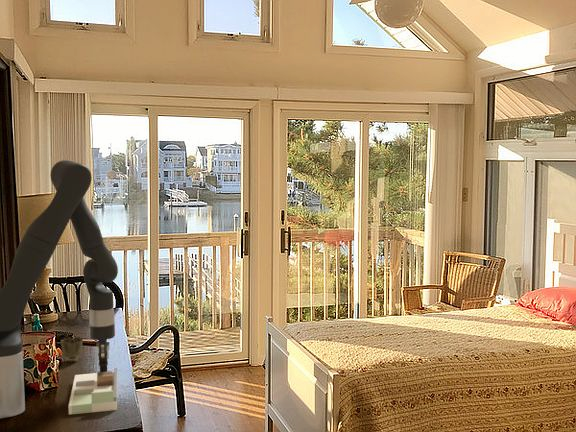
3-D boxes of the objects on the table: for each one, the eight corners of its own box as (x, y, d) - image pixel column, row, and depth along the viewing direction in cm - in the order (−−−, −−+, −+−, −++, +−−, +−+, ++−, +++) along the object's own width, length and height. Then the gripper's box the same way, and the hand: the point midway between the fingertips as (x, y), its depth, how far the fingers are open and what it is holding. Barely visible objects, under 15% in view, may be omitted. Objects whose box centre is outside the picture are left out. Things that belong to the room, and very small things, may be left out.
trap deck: (116, 409, 183) (116, 390, 183) (68, 414, 180) (68, 395, 180) (117, 378, 210) (116, 362, 210) (75, 382, 207) (74, 365, 207)
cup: (60, 364, 226) (59, 342, 225) (62, 359, 233) (61, 337, 232) (82, 363, 228) (82, 340, 227) (83, 357, 235) (83, 335, 234)
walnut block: (112, 385, 197) (112, 375, 197) (97, 386, 196) (97, 376, 195) (112, 380, 201) (112, 371, 201) (97, 381, 200) (97, 372, 200)
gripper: (114, 326, 196) (116, 382, 197) (114, 317, 208) (116, 369, 210) (88, 328, 194) (90, 384, 195) (90, 318, 206) (91, 371, 208)
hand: (103, 376), depth 202 cm, fingers closed
